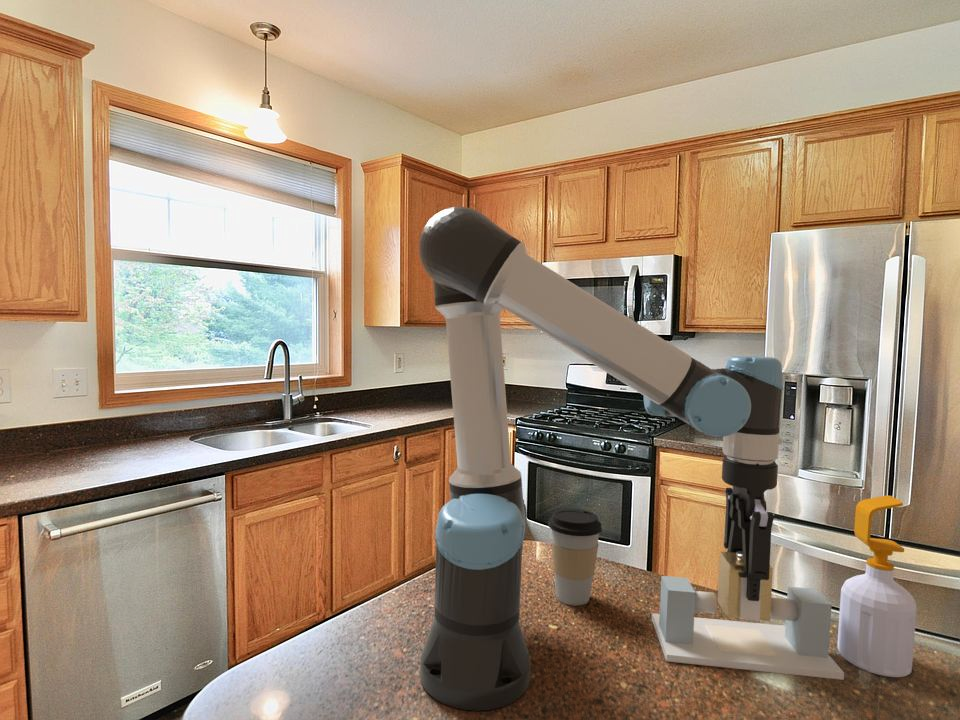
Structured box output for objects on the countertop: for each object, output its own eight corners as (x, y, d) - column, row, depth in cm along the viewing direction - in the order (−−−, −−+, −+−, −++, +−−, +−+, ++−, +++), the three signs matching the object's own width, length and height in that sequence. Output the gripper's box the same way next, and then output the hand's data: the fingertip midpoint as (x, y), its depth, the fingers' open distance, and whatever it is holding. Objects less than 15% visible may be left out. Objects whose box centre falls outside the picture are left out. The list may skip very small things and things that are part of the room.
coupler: (769, 620, 82) (772, 562, 81) (727, 617, 82) (730, 559, 82) (757, 604, 87) (760, 549, 86) (717, 601, 87) (720, 546, 87)
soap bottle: (925, 683, 77) (938, 510, 76) (853, 673, 79) (864, 504, 78) (891, 648, 86) (903, 492, 85) (827, 639, 88) (837, 486, 86)
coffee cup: (606, 595, 100) (610, 513, 100) (587, 616, 92) (590, 528, 92) (558, 581, 105) (561, 503, 105) (536, 600, 98) (539, 517, 97)
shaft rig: (666, 661, 80) (669, 600, 80) (651, 619, 92) (654, 566, 92) (843, 679, 77) (848, 617, 77) (805, 633, 89) (808, 579, 89)
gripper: (803, 475, 74) (794, 644, 75) (754, 447, 92) (747, 584, 93) (744, 472, 75) (735, 639, 76) (707, 445, 93) (701, 581, 94)
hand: (742, 608), depth 85 cm, fingers closed on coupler, 5 cm apart
